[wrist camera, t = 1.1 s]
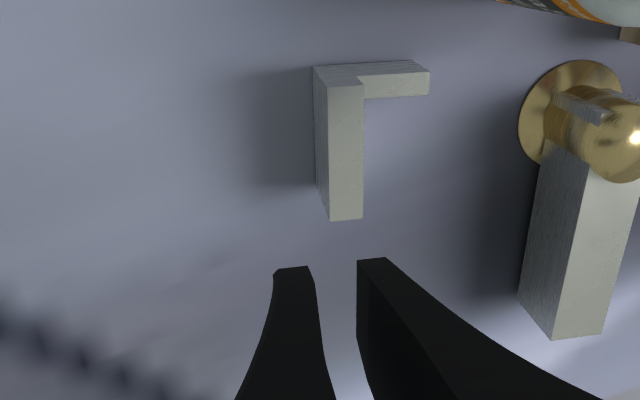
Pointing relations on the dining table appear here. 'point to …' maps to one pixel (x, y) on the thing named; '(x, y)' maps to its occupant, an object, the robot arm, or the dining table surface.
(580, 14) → the pill bottle
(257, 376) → the robot arm
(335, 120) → the bracket
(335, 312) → the dining table surface
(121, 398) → the dining table surface
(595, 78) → the pivot plate
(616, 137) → the bar
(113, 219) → the dining table surface
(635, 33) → the oak jamb corner
